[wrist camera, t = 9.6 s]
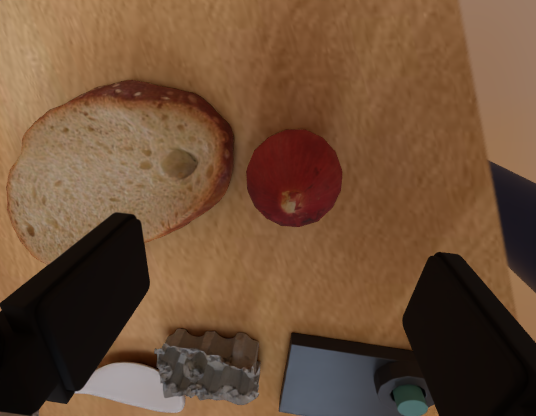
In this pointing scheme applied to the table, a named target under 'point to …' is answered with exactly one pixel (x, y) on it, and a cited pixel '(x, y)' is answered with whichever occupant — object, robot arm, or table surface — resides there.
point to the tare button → (410, 400)
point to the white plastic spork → (132, 387)
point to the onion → (294, 178)
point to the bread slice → (118, 165)
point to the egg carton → (209, 367)
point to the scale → (346, 378)
